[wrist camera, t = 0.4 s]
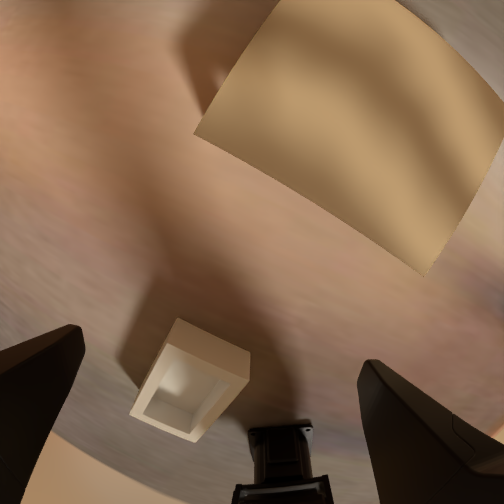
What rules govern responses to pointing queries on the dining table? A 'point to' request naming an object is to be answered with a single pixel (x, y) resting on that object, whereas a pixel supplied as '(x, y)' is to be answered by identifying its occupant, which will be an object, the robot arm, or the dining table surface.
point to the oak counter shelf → (362, 120)
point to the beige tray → (191, 381)
